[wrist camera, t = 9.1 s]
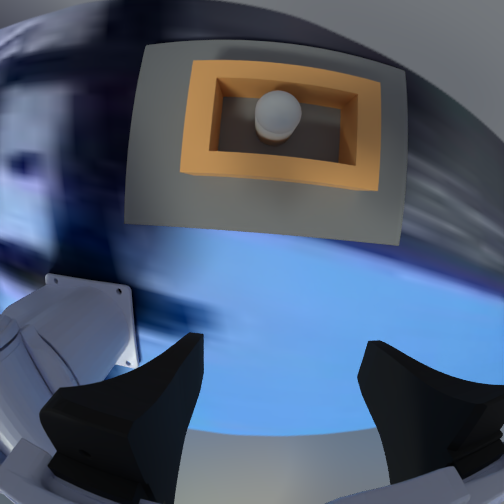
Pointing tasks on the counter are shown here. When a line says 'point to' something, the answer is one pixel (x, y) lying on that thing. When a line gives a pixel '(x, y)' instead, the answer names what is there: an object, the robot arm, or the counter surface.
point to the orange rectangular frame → (305, 91)
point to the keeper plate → (261, 149)
